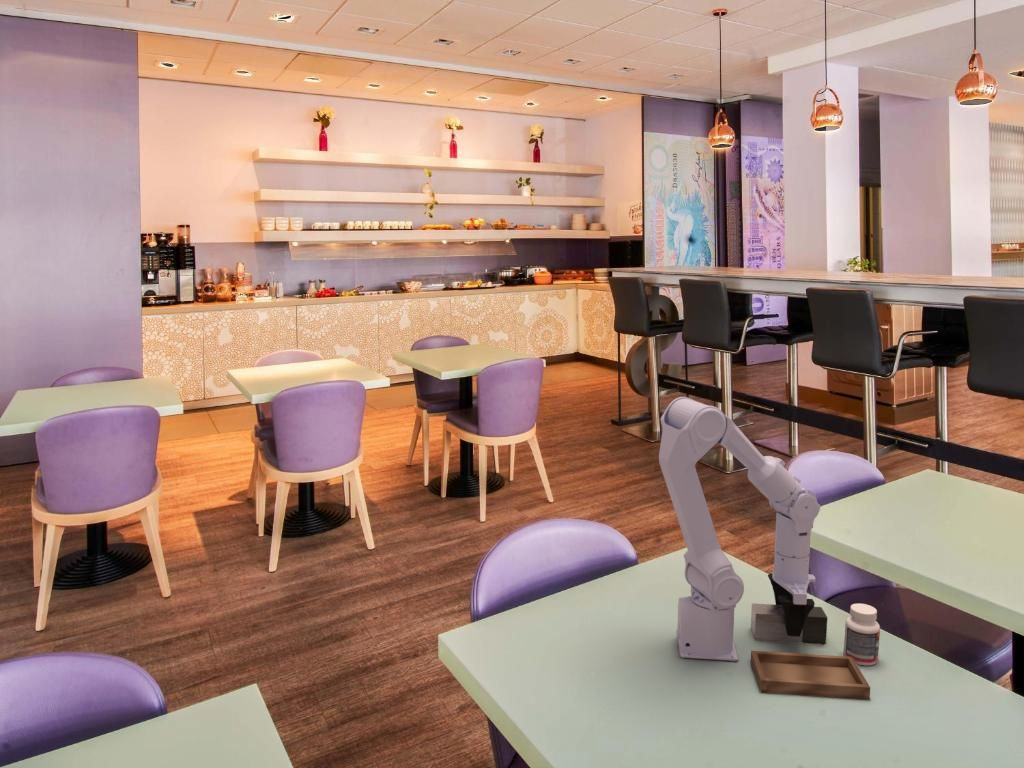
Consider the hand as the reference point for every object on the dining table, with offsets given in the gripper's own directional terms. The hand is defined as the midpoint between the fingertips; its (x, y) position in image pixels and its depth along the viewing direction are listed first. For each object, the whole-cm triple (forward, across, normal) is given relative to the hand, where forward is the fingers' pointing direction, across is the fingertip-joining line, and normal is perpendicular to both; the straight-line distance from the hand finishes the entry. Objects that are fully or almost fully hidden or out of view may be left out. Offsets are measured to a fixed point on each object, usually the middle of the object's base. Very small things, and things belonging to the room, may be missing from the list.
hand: (788, 624), depth 131 cm
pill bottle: (+2, -6, -10) cm, 12 cm away
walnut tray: (+2, -14, 0) cm, 14 cm away
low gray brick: (+2, 0, 0) cm, 2 cm away
